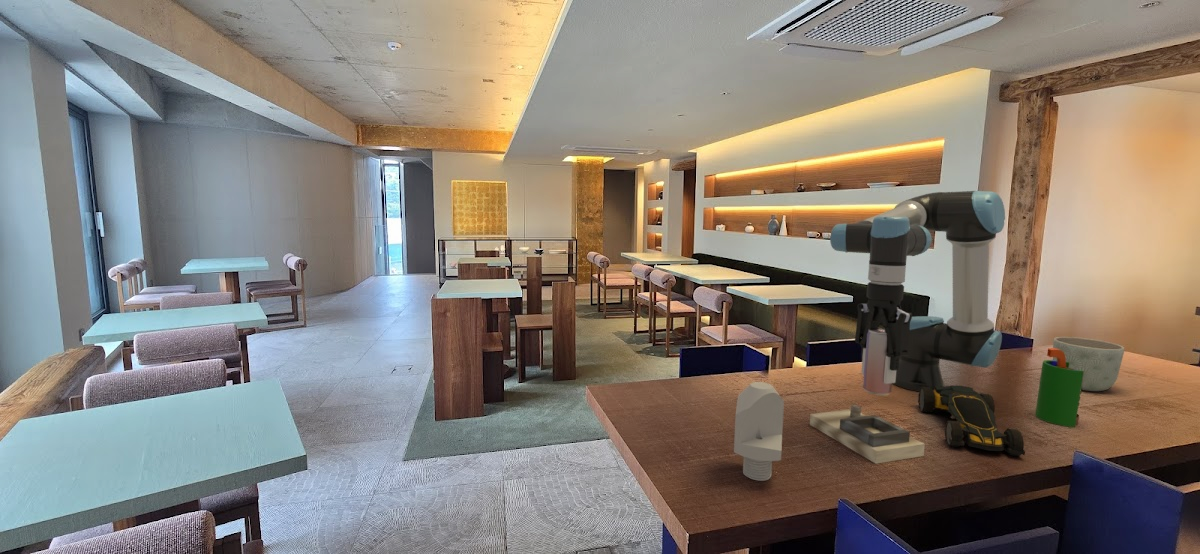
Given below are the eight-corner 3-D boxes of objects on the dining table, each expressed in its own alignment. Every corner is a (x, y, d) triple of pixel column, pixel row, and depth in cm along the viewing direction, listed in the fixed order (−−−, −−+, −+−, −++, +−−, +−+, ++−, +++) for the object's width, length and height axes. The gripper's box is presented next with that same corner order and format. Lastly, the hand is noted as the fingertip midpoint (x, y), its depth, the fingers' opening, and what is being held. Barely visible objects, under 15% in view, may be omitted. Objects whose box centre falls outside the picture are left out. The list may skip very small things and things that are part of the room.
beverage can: (857, 387, 122) (862, 327, 121) (880, 387, 123) (885, 327, 121) (872, 396, 116) (877, 333, 115) (896, 395, 117) (902, 333, 115)
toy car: (983, 414, 143) (987, 380, 142) (1031, 464, 114) (1036, 422, 113) (916, 405, 149) (919, 373, 148) (946, 451, 120) (950, 411, 119)
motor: (1089, 428, 134) (1099, 356, 131) (1050, 425, 135) (1059, 353, 133) (1062, 414, 143) (1071, 346, 141) (1026, 411, 145) (1034, 344, 143)
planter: (1109, 384, 169) (1115, 341, 167) (1126, 400, 155) (1133, 352, 153) (1043, 375, 178) (1048, 334, 176) (1054, 389, 164) (1059, 344, 162)
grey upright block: (732, 480, 105) (736, 389, 103) (737, 460, 114) (740, 376, 111) (779, 489, 102) (784, 395, 99) (780, 468, 111) (785, 381, 108)
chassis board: (809, 424, 134) (811, 403, 133) (852, 419, 138) (853, 398, 137) (875, 463, 113) (877, 438, 112) (923, 456, 117) (925, 431, 116)
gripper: (842, 278, 124) (836, 367, 127) (908, 288, 106) (899, 393, 109) (866, 277, 127) (859, 365, 129) (935, 287, 109) (925, 390, 111)
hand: (877, 378), depth 119 cm, fingers closed on beverage can, 6 cm apart
